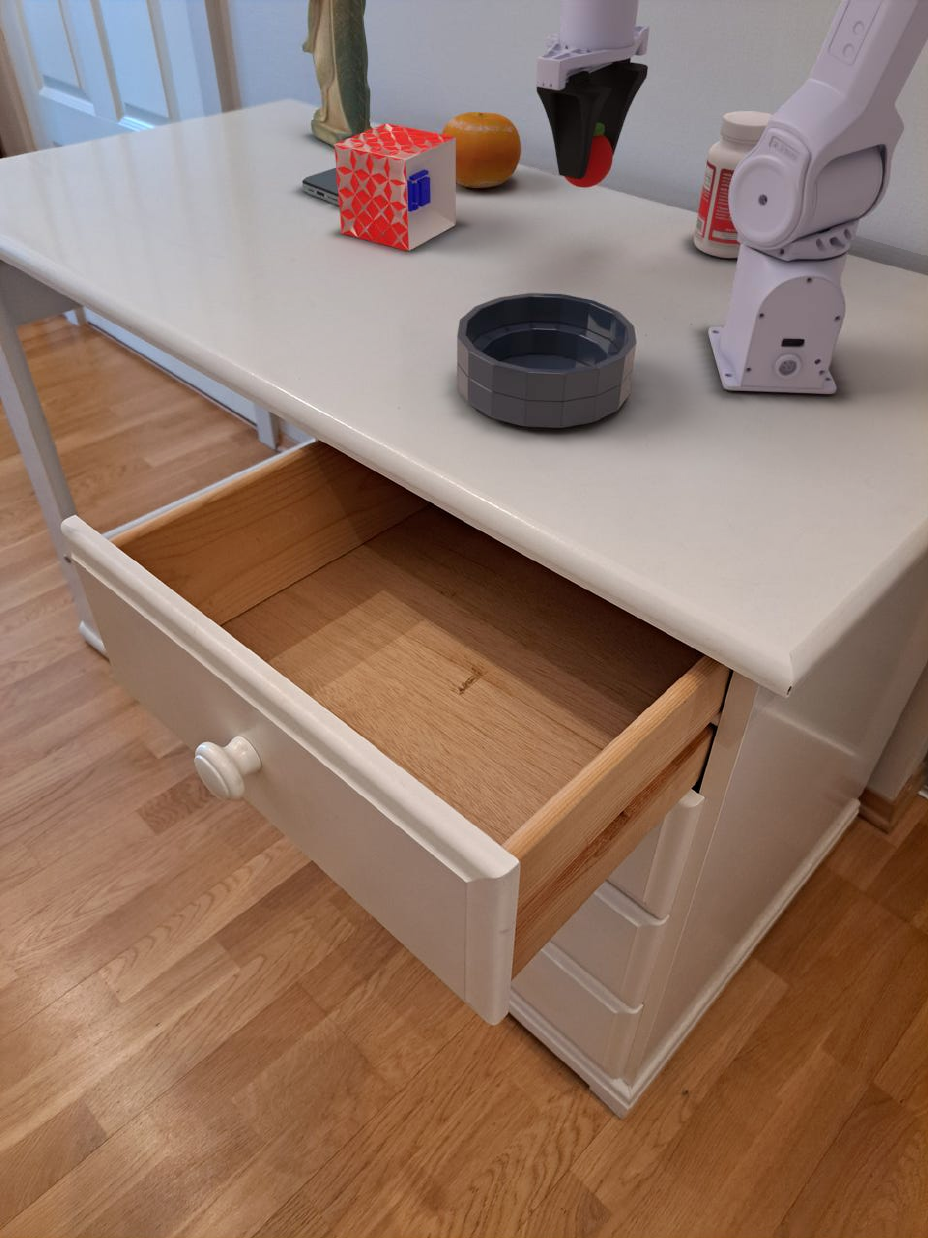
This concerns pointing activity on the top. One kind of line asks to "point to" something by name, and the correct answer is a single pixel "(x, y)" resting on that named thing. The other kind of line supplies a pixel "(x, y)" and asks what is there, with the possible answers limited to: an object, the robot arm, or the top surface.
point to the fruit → (484, 148)
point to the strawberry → (596, 160)
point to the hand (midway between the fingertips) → (585, 168)
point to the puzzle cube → (396, 185)
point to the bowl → (545, 359)
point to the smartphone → (323, 186)
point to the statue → (339, 68)
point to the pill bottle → (725, 182)
